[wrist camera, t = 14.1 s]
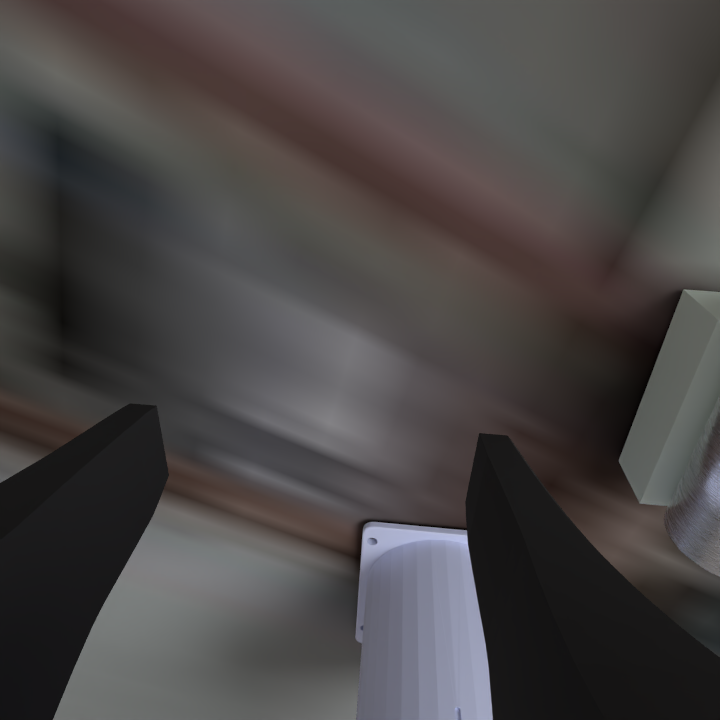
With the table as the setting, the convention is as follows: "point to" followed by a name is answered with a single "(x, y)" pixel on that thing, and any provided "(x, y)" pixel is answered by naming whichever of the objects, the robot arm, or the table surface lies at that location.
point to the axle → (699, 501)
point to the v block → (675, 400)
